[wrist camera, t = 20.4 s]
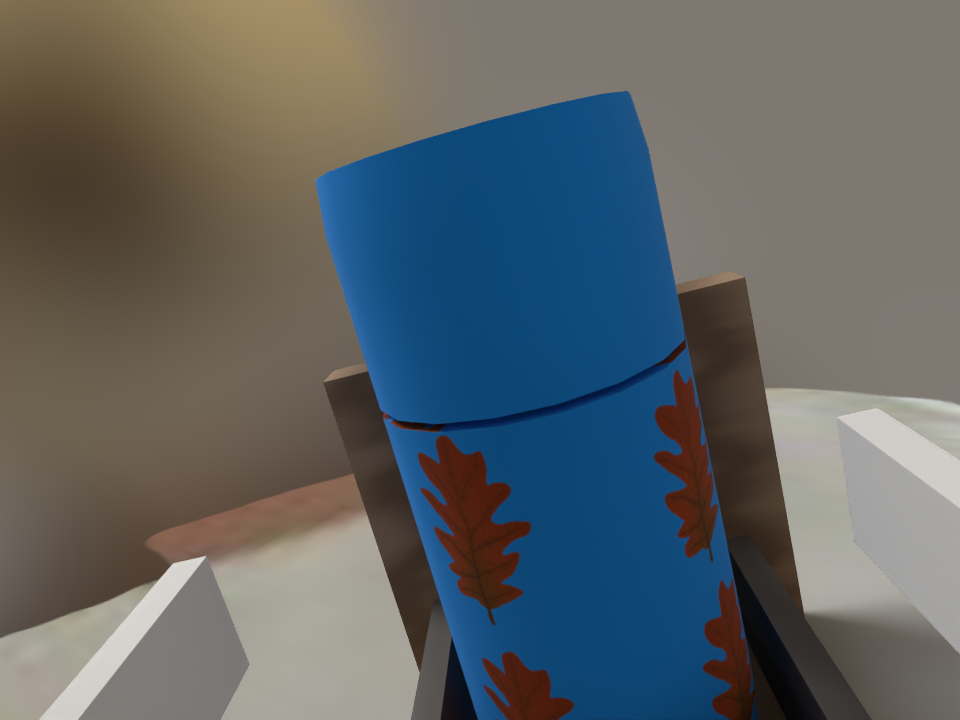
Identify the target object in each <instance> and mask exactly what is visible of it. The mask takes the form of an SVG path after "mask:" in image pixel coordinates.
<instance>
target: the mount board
mask: <svg viewBox="0 0 960 720" xmlns="http://www.w3.org/2000/svg"><path fill="white" fill-rule="evenodd" d="M676 290H677V295H678V300H679V305H680V310H681V315H682V320H683V325H684V332H685V335H686V340H687V345H688V350H689V355H690V360H691V365H692V370H693V375H694V380H695V385H696V390H697V395H698V400H699V405H700V410H701V415H702V421H703V426H704V431H705V436H706V441H707V446H708V451H709V456H710V461H711V466H712V471H713V476H714V481H715V486H716V491H717V496H718V501H719V506H720V511H721V516H722V521H723V526H724V531H725V536H726V541H727V546H728V551H729V556H730V561H731V566H732V571H733V576H734V581H735V586H736V591H737V596H738V601H739V606H740V611H741V616H742V621H743V626H744V631H745V637H746V642H747V647H748V652H749V657H750V663H751V670H752V676H753V682H754V688H755V696H756V703H757V711H758V719H759V720H871V718H870V717H869V715H868V714H867V712H866V711H865V709H864V708H863V706H862V705H861V703H860V702H859V700H858V699H857V697H856V696H855V694H854V693H853V691H852V689H851V688H850V686H849V685H848V683H847V682H846V680H845V679H844V677H843V676H842V674H841V673H840V671H839V670H838V668H837V667H836V665H835V664H834V662H833V661H832V659H831V658H830V656H829V655H828V653H827V652H826V650H825V649H824V647H823V646H822V644H821V643H820V641H819V640H818V638H817V636H816V635H815V633H814V632H813V630H812V629H811V627H810V626H809V624H808V623H807V621H806V620H805V617H804V611H803V606H802V600H801V594H800V588H799V583H798V577H797V571H796V566H795V560H794V554H793V548H792V543H791V537H790V531H789V526H788V520H787V514H786V508H785V503H784V497H783V491H782V485H781V480H780V474H779V468H778V463H777V457H776V451H775V445H774V440H773V434H772V428H771V423H770V417H769V411H768V405H767V400H766V394H765V388H764V383H763V377H762V371H761V366H760V360H759V354H758V348H757V343H756V338H755V331H754V325H753V320H752V314H751V309H750V303H749V297H748V291H747V285H746V280H745V277H743V276H740V275H739V274H736V273H734V272H731V271H730V272H726V273H722V274H718V275H714V276H710V277H706V278H702V279H698V280H694V281H690V282H686V283H682V284H678V285H676ZM323 383H324V386H325V389H326V392H327V395H328V398H329V401H330V404H331V407H332V410H333V413H334V416H335V419H336V422H337V425H338V428H339V431H340V434H341V437H342V440H343V443H344V446H345V449H346V452H347V455H348V458H349V461H350V464H351V467H352V470H353V473H354V476H355V479H356V482H357V485H358V488H359V491H360V494H361V497H362V500H363V503H364V506H365V509H366V512H367V515H368V518H369V521H370V524H371V527H372V530H373V533H374V537H375V540H376V543H377V546H378V549H379V552H380V555H381V558H382V561H383V564H384V567H385V570H386V573H387V576H388V579H389V582H390V585H391V588H392V591H393V594H394V597H395V600H396V603H397V606H398V609H399V612H400V615H401V618H402V621H403V624H404V627H405V630H406V633H407V636H408V639H409V642H410V645H411V648H412V651H413V654H414V657H415V660H416V663H417V666H418V669H419V672H420V675H419V680H418V686H417V691H416V696H415V702H414V707H413V712H412V717H411V720H478V718H477V715H476V712H475V709H474V705H473V702H472V699H471V696H470V693H469V689H468V686H467V683H466V680H465V677H464V674H463V670H462V667H461V664H460V661H459V658H458V655H457V651H456V648H455V645H454V642H453V639H452V635H451V632H450V629H449V626H448V623H447V620H446V616H445V613H444V610H443V607H442V604H441V601H440V597H439V594H438V591H437V588H436V585H435V581H434V578H433V575H432V572H431V569H430V566H429V562H428V559H427V556H426V553H425V550H424V546H423V543H422V540H421V537H420V534H419V531H418V527H417V524H416V521H415V518H414V515H413V512H412V508H411V505H410V502H409V499H408V496H407V492H406V489H405V486H404V483H403V480H402V477H401V473H400V470H399V467H398V464H397V461H396V458H395V454H394V451H393V448H392V445H391V442H390V438H389V435H388V432H387V429H386V426H385V423H384V419H383V414H384V412H383V411H381V410H380V407H379V403H378V400H377V397H376V394H375V391H374V388H373V384H372V381H371V378H370V375H369V372H368V369H367V365H366V363H363V364H359V365H354V366H350V367H347V368H342V369H338V370H335V371H333V372H332V373H331V375H330V376H329V377H328V378H327V379H326V380H325V381H324V382H323Z"/></svg>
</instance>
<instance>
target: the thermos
mask: <svg viewBox="0 0 960 720" xmlns="http://www.w3.org/2000/svg"><path fill="white" fill-rule="evenodd" d="M316 185H317V191H318V196H319V202H320V207H321V213H322V218H323V223H324V229H325V234H326V238H327V241H328V244H329V248H330V251H331V254H332V257H333V260H334V264H335V267H336V270H337V273H338V276H339V279H340V283H341V286H342V288H343V292H344V295H345V299H346V302H347V305H348V308H349V311H350V314H351V318H352V321H353V324H354V327H355V330H356V334H357V337H358V340H359V343H360V346H361V349H362V353H363V356H364V359H365V362H366V365H367V369H368V372H369V375H370V378H371V381H372V384H373V388H374V391H375V394H376V397H377V400H378V403H379V407H380V410H381V411H383V412H384V414H383V419H384V423H385V426H386V429H387V432H388V435H389V438H390V442H391V445H392V448H393V451H394V454H395V458H396V461H397V464H398V467H399V470H400V473H401V477H402V480H403V483H404V486H405V489H406V492H407V496H408V499H409V502H410V505H411V508H412V512H413V515H414V518H415V521H416V524H417V527H418V531H419V534H420V537H421V540H422V543H423V546H424V550H425V553H426V556H427V559H428V562H429V566H430V569H431V572H432V575H433V578H434V581H435V585H436V588H437V591H438V594H439V597H440V601H441V604H442V607H443V610H444V613H445V616H446V620H447V623H448V626H449V629H450V632H451V635H452V639H453V642H454V645H455V648H456V651H457V655H458V658H459V661H460V664H461V667H462V670H463V674H464V677H465V680H466V683H467V686H468V689H469V693H470V696H471V699H472V702H473V705H474V709H475V712H476V715H477V718H478V720H759V719H758V711H757V703H756V696H755V688H754V682H753V676H752V670H751V663H750V657H749V652H748V647H747V642H746V637H745V631H744V626H743V621H742V616H741V611H740V606H739V601H738V596H737V591H736V586H735V581H734V576H733V571H732V566H731V561H730V556H729V551H728V546H727V541H726V536H725V531H724V526H723V521H722V516H721V511H720V506H719V501H718V496H717V491H716V486H715V481H714V476H713V471H712V466H711V461H710V456H709V451H708V446H707V441H706V436H705V431H704V426H703V421H702V415H701V410H700V405H699V400H698V395H697V390H696V385H695V380H694V375H693V370H692V365H691V360H690V355H689V350H688V345H687V340H686V335H685V332H684V325H683V320H682V315H681V310H680V305H679V300H678V295H677V290H676V285H675V280H674V275H673V271H672V265H671V260H670V255H669V250H668V245H667V241H666V235H665V230H664V225H663V220H662V215H661V210H660V204H659V199H658V195H657V190H656V184H655V180H654V175H653V170H652V165H651V160H650V154H649V149H648V146H647V143H646V140H645V137H644V134H643V131H642V128H641V125H640V122H639V119H638V116H637V113H636V110H635V107H634V104H633V101H632V98H631V95H630V94H629V92H628V91H624V92H614V93H606V94H600V95H595V96H590V97H585V98H581V99H576V100H571V101H566V102H562V103H557V104H552V105H549V106H544V107H540V108H536V109H533V110H529V111H525V112H521V113H517V114H513V115H509V116H505V117H501V118H497V119H493V120H489V121H486V122H482V123H479V124H475V125H472V126H468V127H465V128H461V129H458V130H454V131H451V132H447V133H444V134H440V135H437V136H433V137H430V138H427V139H423V140H420V141H416V142H414V143H410V144H407V145H404V146H401V147H398V148H395V149H392V150H389V151H385V152H383V153H379V154H376V155H373V156H370V157H367V158H364V159H361V160H359V161H356V162H353V163H351V164H348V165H346V166H343V167H340V168H338V169H335V170H333V171H330V172H328V173H326V174H324V175H323V176H321V177H320V178H318V179H316Z"/></svg>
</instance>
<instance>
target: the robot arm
mask: <svg viewBox="0 0 960 720" xmlns="http://www.w3.org/2000/svg"><path fill="white" fill-rule="evenodd" d="M837 423H838V431H839V438H840V445H841V452H842V459H843V466H844V474H845V481H846V488H847V495H848V502H849V509H850V516H851V524H852V531H853V538H854V542H855V543H856V544H857V546H858V547H859V548H860V549H861V550H862V551H863V552H864V553H865V554H866V555H867V556H868V557H869V558H870V559H871V560H872V561H873V563H874V564H875V565H876V566H877V567H878V568H879V569H880V570H881V571H882V572H883V573H884V574H885V575H886V576H887V577H888V578H889V580H890V581H891V582H892V583H893V584H894V585H895V586H896V587H897V588H898V589H899V590H900V591H901V592H902V593H903V594H904V595H905V597H906V598H907V599H908V600H909V601H910V602H911V603H912V604H913V605H914V606H915V607H916V608H917V609H918V610H919V611H920V612H921V614H922V615H923V616H924V617H925V618H926V619H927V620H928V621H929V622H930V623H931V624H932V625H933V626H934V627H935V628H936V629H937V631H938V632H939V633H940V634H941V635H942V636H943V637H944V638H945V639H946V640H947V641H948V642H949V643H950V644H951V645H952V646H953V648H954V649H955V650H956V651H957V652H958V653H959V654H960V460H958V459H957V458H955V457H954V456H952V455H950V454H949V453H947V452H946V451H944V450H943V449H941V448H939V447H938V446H936V445H935V444H933V443H932V442H930V441H928V440H927V439H925V438H924V437H922V436H920V435H919V434H917V433H916V432H914V431H913V430H911V429H909V428H908V427H906V426H905V425H903V424H902V423H900V422H898V421H897V420H895V419H894V418H892V417H891V416H889V415H887V414H886V413H884V412H883V411H881V410H879V409H878V408H875V409H871V410H866V411H862V412H857V413H853V414H848V415H843V416H839V417H837ZM248 666H249V662H248V659H247V657H246V654H245V652H244V649H243V647H242V644H241V642H240V639H239V637H238V634H237V632H236V629H235V627H234V624H233V622H232V619H231V616H230V614H229V611H228V609H227V606H226V604H225V601H224V599H223V596H222V594H221V591H220V589H219V586H218V584H217V581H216V579H215V576H214V574H213V571H212V569H211V566H210V564H209V561H208V558H207V556H205V557H200V558H196V559H191V560H187V561H182V562H178V563H173V564H172V566H171V567H170V568H169V569H168V570H167V571H166V573H165V574H164V575H163V576H162V577H161V578H160V580H159V581H158V582H157V583H156V584H155V585H154V587H153V588H152V589H151V590H150V591H149V592H148V594H147V595H146V596H145V597H144V598H143V599H142V601H141V602H140V603H139V604H138V605H137V606H136V608H135V609H134V610H133V611H132V612H131V613H130V615H129V616H128V617H127V618H126V619H125V620H124V622H123V623H122V624H121V625H120V626H119V627H118V628H117V630H116V631H115V632H114V633H113V634H112V635H111V637H110V638H109V639H108V640H107V641H106V642H105V644H104V645H103V646H102V647H101V648H100V649H99V651H98V652H97V653H96V654H95V655H94V656H93V658H92V659H91V660H90V661H89V662H88V663H87V665H86V666H85V667H84V668H83V669H82V670H81V672H80V673H79V674H78V675H77V676H76V677H75V679H74V680H73V681H72V682H71V683H70V684H69V686H68V687H67V688H66V689H65V690H64V691H63V693H62V694H61V695H60V696H59V697H58V698H57V700H56V701H55V702H54V703H53V704H52V705H51V707H50V708H49V709H48V710H47V711H46V712H45V714H44V715H43V716H42V717H41V718H40V719H39V720H220V719H221V718H222V716H223V714H224V712H225V710H226V708H227V706H228V704H229V702H230V700H231V699H232V697H233V695H234V693H235V691H236V689H237V687H238V685H239V683H240V681H241V680H242V678H243V676H244V674H245V672H246V670H247V668H248Z"/></svg>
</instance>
